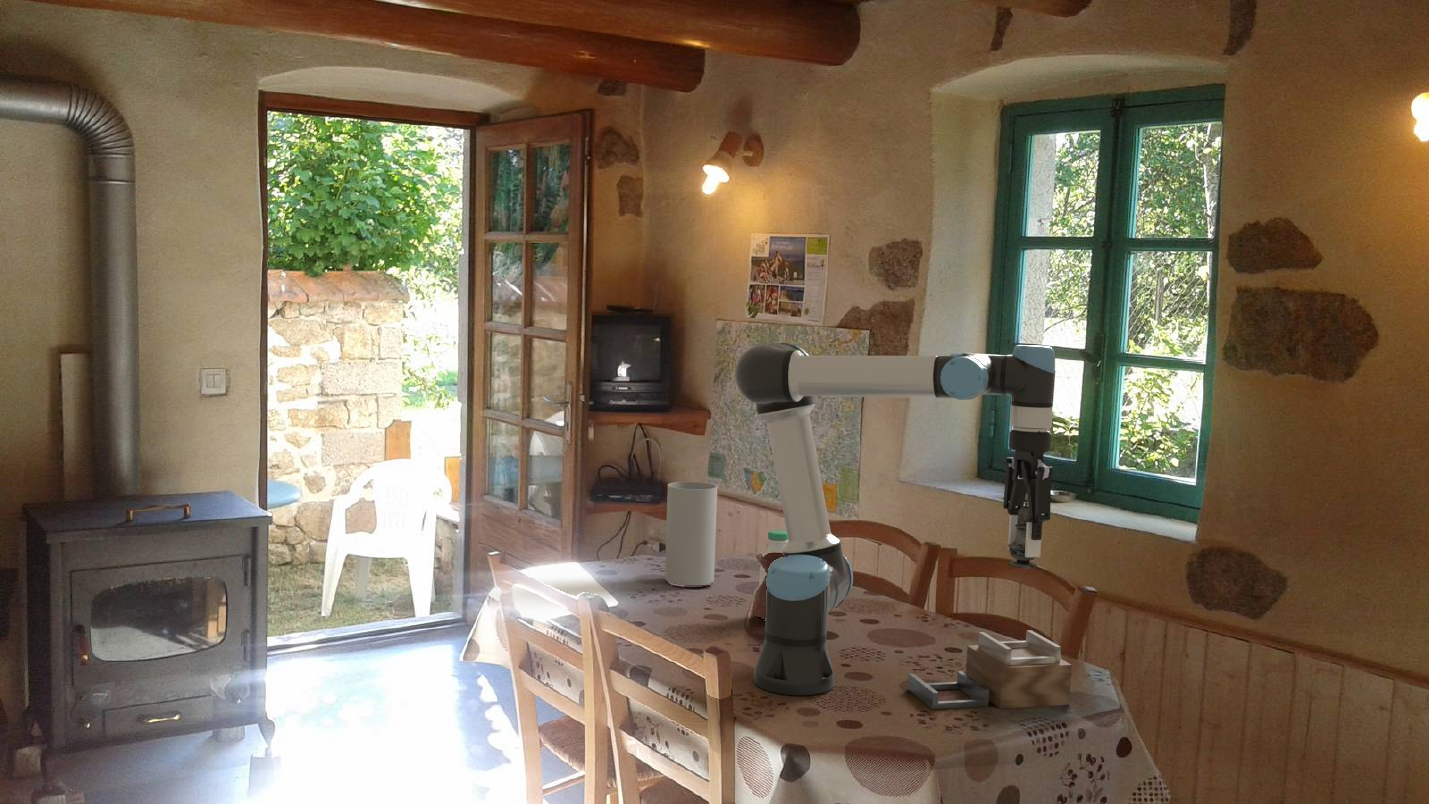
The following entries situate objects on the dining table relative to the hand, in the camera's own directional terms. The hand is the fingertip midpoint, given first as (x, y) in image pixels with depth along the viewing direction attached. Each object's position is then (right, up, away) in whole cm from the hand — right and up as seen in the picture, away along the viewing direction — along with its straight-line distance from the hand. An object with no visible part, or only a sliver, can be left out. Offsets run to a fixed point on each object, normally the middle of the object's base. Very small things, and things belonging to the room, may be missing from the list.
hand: (1023, 552), depth 222 cm
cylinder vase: (-64, -18, +81) cm, 105 cm away
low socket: (-14, -27, -1) cm, 30 cm away
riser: (-1, -27, +2) cm, 27 cm away
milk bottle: (-44, -21, +50) cm, 70 cm away
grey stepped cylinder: (0, -3, 0) cm, 3 cm away
